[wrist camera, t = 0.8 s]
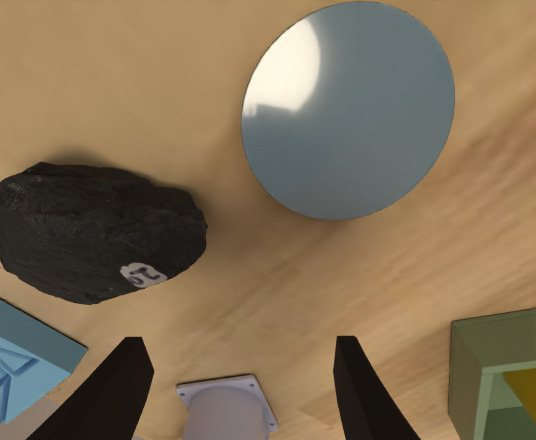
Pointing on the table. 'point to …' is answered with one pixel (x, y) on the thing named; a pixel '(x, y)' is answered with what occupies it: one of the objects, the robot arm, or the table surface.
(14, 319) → the decorative tile
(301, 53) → the saucer
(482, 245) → the table surface
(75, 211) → the rock
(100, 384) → the robot arm
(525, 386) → the pepper
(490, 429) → the tub
